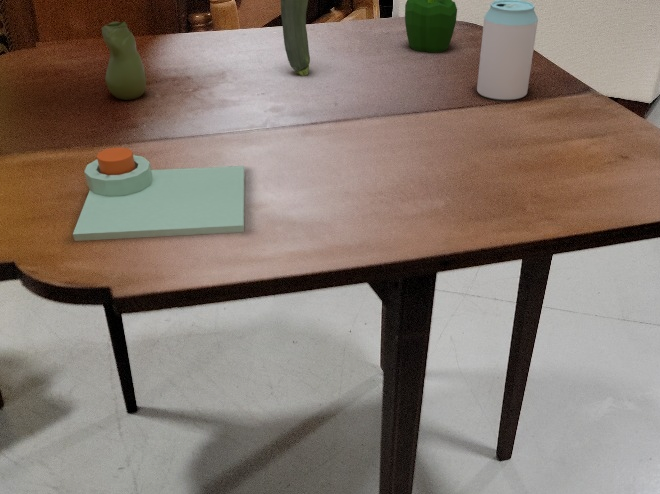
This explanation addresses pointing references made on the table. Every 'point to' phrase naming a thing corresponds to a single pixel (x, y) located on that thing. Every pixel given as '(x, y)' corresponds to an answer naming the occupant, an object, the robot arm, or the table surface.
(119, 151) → the button
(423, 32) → the bell pepper
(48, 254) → the table surface
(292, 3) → the vegetable
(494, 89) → the can
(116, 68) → the pear
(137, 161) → the pale green flat block
